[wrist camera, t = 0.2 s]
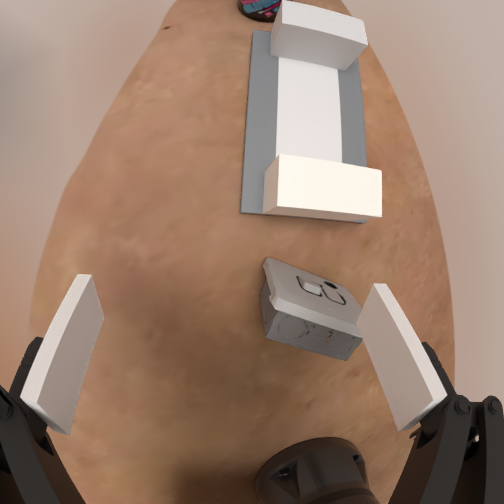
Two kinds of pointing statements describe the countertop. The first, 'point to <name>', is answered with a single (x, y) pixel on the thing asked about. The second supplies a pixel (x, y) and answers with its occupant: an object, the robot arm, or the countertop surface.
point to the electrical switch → (308, 311)
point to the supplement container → (260, 9)
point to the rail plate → (308, 120)
